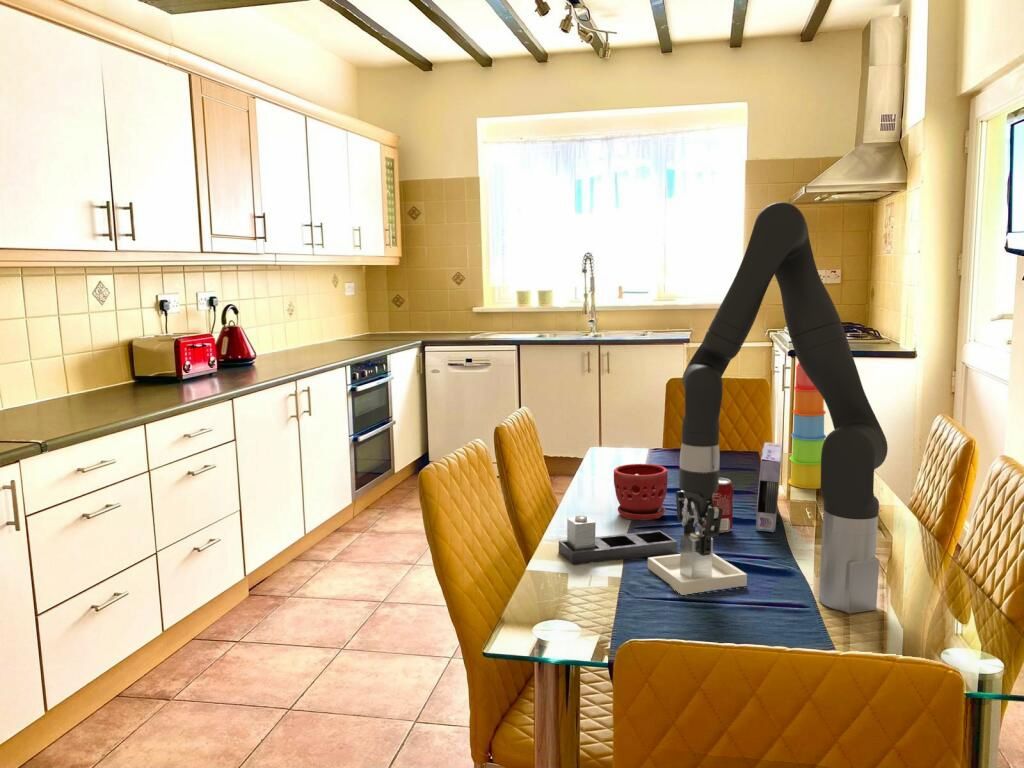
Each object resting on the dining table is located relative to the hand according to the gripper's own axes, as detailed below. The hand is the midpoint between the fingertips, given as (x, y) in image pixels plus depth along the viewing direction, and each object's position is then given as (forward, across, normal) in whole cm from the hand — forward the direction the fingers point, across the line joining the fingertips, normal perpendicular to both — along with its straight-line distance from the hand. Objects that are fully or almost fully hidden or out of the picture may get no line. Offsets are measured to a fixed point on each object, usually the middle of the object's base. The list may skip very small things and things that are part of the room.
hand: (696, 549), depth 164 cm
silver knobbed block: (+5, 0, 0) cm, 5 cm away
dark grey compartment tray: (+6, +17, +9) cm, 20 cm away
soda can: (+6, +25, -20) cm, 33 cm away
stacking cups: (+6, +53, -66) cm, 85 cm away
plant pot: (+6, +41, -8) cm, 42 cm away
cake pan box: (+6, +27, -35) cm, 45 cm away
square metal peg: (+5, +17, +18) cm, 25 cm away
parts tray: (+6, 0, 0) cm, 6 cm away
